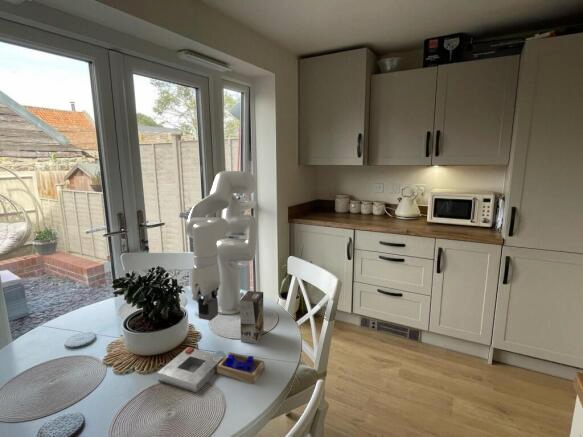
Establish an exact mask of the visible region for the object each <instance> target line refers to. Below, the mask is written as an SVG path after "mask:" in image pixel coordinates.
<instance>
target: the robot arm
mask: <svg viewBox="0 0 583 437" xmlns="http://www.w3.org/2000/svg"><path fill="white" fill-rule="evenodd" d="M256 184H257V183H256V177H255V176H254V175H253V174H252V173H250V172H248V171H243V170H223V171H222V170H221V171H220V172H218V173H217V174H216V175H215V177H214V179H213V182H212V186H211V188H210V191H209V195H207V196H206V197H204V198H202V199H201V200H200V201H198V202H197V203H195V205H194V206H192V208H191V210H190V211H189V214H188V217H187V220H186V224H185V233H186V235H187V236H188V237H189V238H191V239H192V247H193V248H192V250H193V262H194V265H193V266H192V270H191V271H192V273H191V293H192V295H193V296H192V298H191V300H193V301H195V302H196V303H197V304H198V303H199V310H198V314H199V313H200V314H204V315H207V314H208V303H206V300H207V295H208V294H209V293H211V292H212V298H218V314H221V315H234V314H238V313H240V300H241V299H242V298H243V296H244V295H245V293H244V292H242V291H241V280H240V279H241V277H240V274H241V272H240V268H239V265H238V264H237V262H251V261H253V260H254V259H255V258H256V253H257V238H258V237H257V235H258V234H257V233H258V223H257V218H256V217H255V216H254V215H251V214H242V207H243V206H242V203H241V201H240V200H239V198H237V196H236V195H235V194H248V195H249V194H252V193H255V192H254V191H255V190H256V187H257V186H256ZM218 212H221V213H220V214H221V215H220V217H215V216H214V217H212V216H208V215H212V214H215V213H218ZM226 236H227V237H243V238H227V237H226ZM244 237H245V238H244Z"/></svg>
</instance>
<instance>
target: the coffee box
mask: <svg viewBox="0 0 583 437" xmlns="http://www.w3.org/2000/svg"><path fill="white" fill-rule="evenodd" d="M239 315H240V319H239V320H240V342H245V343H250V344H251V343H252V344H257V343H258V342H259V339H260V338H261V336H262V334H263V333H264V331H265V330H264V319H265V318H264V292H263V291H251V290H247V292H246V293H244V296H243V297H241V299H240V312H239Z"/></svg>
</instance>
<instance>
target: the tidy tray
mask: <svg viewBox="0 0 583 437" xmlns="http://www.w3.org/2000/svg"><path fill="white" fill-rule="evenodd" d="M229 354H231V355H234V358H235V359H236V360H237V361H238V362H246V361H247V359H248V357H249V356H246V355H241V354H239V353H234V352H228V354H227V355H226V356H225V357H224V359H223V360H222V361H221V362H220V363H219V364H218V365H217V371H216V373H217V374H219V375H222V376H225V377H230V378H233V379H236V380H238V381H239V380H240V381H243V382H247V383H250V384H255V382H256V381H257V380H258V378H259V377H260V375H261V374H262V373H263V372H264V370H265V365H266V364H265V360H261V359H258V358H254V357H253V366H254V367H253V368H255V370H254V371H252V373H250V372H248V371H247V372H246V371H243V370H237V369H233V368H229V367H226V364H227V357H228V355H229Z"/></svg>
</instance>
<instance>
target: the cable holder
mask: <svg viewBox="0 0 583 437" xmlns="http://www.w3.org/2000/svg"><path fill="white" fill-rule="evenodd" d="M228 354H229V353H228ZM228 354H227V355H228ZM247 357H248V359H247V361H246V362H238V361H237V360H236V359H235V358H234V355H231V354H229V355H228V357H227V364H226V367H229V368H233V369H237V370H240V371H244V372H246V371H247V372H253V369H254V368H255V367H254V366H253V358H254V356H252V355H251V356H250V355H248V356H247Z"/></svg>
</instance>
